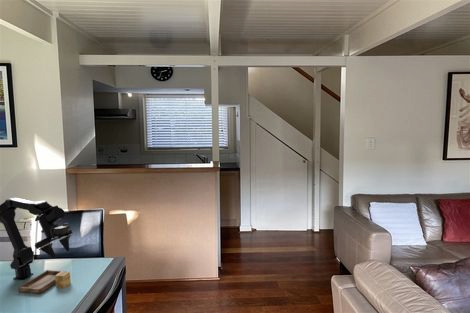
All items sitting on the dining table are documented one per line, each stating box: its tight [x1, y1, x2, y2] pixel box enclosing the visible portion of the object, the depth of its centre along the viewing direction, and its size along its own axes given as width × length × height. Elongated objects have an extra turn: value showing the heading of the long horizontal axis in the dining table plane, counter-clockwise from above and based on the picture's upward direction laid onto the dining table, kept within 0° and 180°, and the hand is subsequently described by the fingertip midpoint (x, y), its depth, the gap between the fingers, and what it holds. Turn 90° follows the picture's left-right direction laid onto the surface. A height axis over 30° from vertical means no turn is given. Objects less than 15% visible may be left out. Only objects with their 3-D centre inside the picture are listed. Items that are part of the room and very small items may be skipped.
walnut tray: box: [17, 269, 68, 295], centre depth 161 cm, size 12×18×2 cm, turn 169°
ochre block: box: [55, 270, 72, 289], centre depth 159 cm, size 4×4×6 cm
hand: (61, 254), depth 159 cm, fingers open, 9 cm apart
